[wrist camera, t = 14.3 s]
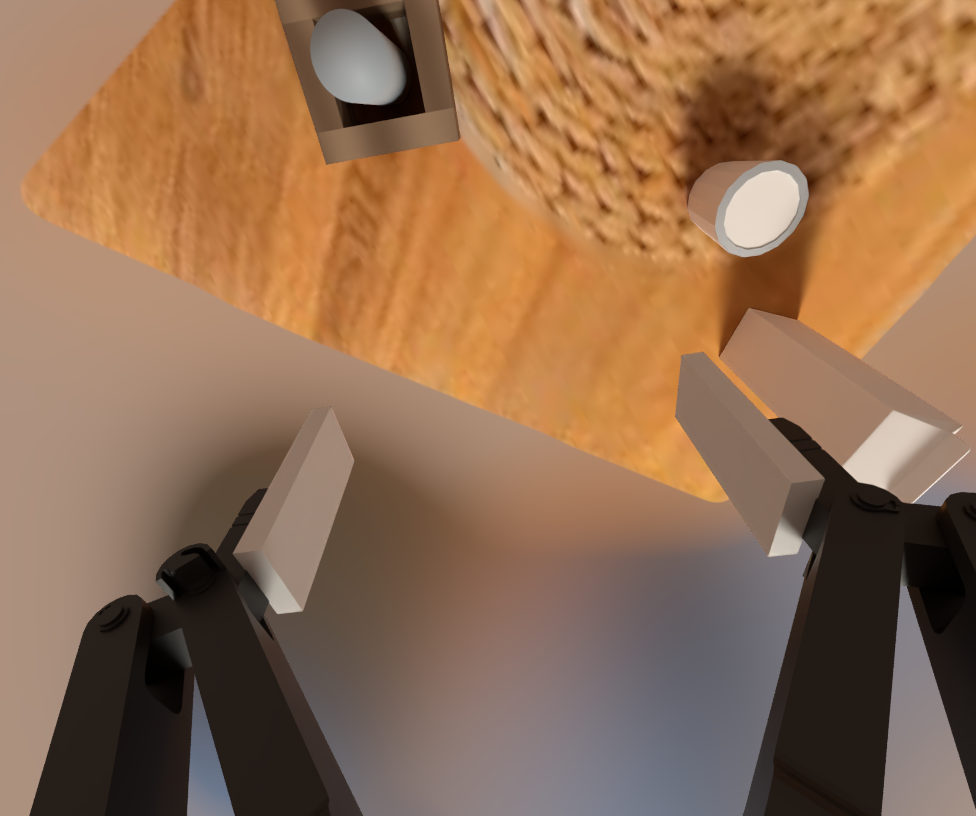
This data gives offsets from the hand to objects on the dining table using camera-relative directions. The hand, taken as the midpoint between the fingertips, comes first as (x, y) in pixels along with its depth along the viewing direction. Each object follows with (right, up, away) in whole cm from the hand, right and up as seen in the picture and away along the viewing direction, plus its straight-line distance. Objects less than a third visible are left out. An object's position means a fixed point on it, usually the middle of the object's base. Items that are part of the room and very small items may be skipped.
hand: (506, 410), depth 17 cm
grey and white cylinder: (+20, +19, +23) cm, 36 cm away
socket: (-9, +26, +17) cm, 32 cm away
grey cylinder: (-9, +26, +17) cm, 32 cm away
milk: (+28, +8, +31) cm, 42 cm away
